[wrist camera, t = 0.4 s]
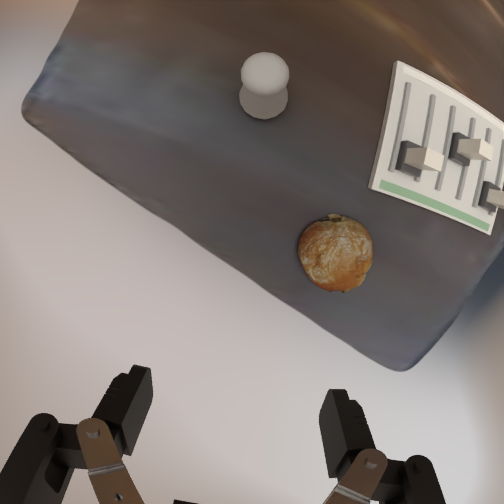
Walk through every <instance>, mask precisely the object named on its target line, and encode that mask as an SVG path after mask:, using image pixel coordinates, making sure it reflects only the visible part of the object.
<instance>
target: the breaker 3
mask: <svg viewBox="0 0 504 504" xmlns="http://www.w3.org/2000/svg"><path fill="white" fill-rule="evenodd" d="M478 206H480V207H482V208H484V209H485V210H487V211H490V212H494V213H495V212H496V208H497V207H500V208H503V209H504V192H503V191H501V188H499V187H498V186H496V185H494V184H493V183H491V182H488V181H483V185H482V189H481V194H480V198H479V202H478Z"/></svg>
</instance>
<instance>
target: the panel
mask: <svg viewBox="0 0 504 504" xmlns="http://www.w3.org/2000/svg"><path fill="white" fill-rule="evenodd" d="M454 132H460V133H462V134H464V135H465V136H467V137H469V138H470V139H483V140H484V141H486V142H487V143H489V144H490V145H492V146H493V147H494V148H493V155H492V161H485V160H472V159H471V160H470V165H469V166H461V165H459V164H457V163H455V162H453V161H451V160H449V159H448V155H449V150H450V145H451V139H452V133H454ZM406 140H408V141H411V142H413V143H415V144H417V145H420V146H422V147H428V148H430V149H432V150H434V151H436V152H438V153H440V154H442V155H444V160H443V165H442V170H441V172H438V171H429V170H422V171H421V175H420V177H414V176H411V175H408V174H406V173H403V172H400V171H398V170H395V166H396V162H397V158H398V153H399V149H400V144H401V141H406ZM483 181H488V182H491V183H493V184H494V185H496V186H498V187H499V188H501V191H502V187H503V182H504V123H503V122H502V121H501V120H499V119H498V118H496V117H495V116H494V115H492V114H491V113H489V112H488V111H487V110H485V109H484V108H482V107H481V106H479V105H478V104H476V103H475V102H473V101H472V100H470V99H469V98H467V97H465V96H464V95H462V94H461V93H459V92H457V91H456V90H454V89H452V88H451V87H449V86H447V85H445V84H444V83H442V82H440V81H438V80H436V79H435V78H433V77H431V76H429V75H427V74H425V73H423V72H421V71H419V70H417V69H415V68H413V67H411V66H409V65H407V64H405V63H403V62H400V61H398V60H397V61H396V62H394V63H393V69H392V76H391V82H390V88H389V93H388V99H387V104H386V110H385V115H384V120H383V124H382V129H381V134H380V138H379V143H378V147H377V152H376V156H375V160H374V164H373V168H372V172H371V176H370V180H369V184H368V188H370V189H373V190H376V191H379V192H382V193H385V194H387V195H390V196H393V197H396V198H399V199H402V200H405V201H407V202H410V203H413V204H415V205H418V206H421V207H423V208H426V209H429V210H431V211H434V212H436V213H439V214H441V215H444V216H446V217H449V218H451V219H454V220H456V221H459V222H461V223H463V224H466V225H468V226H470V227H473V228H475V229H477V230H479V231H482V232H484V233H486V234H488V235H491V231H492V228H493V224H494V221H495V217H496V213H497V209H498V207H497V208H496V212H495V213H494V212H490V211H487V210H485V209H484V208H482V207H480V206H478V202H479V198H480V194H481V189H482V185H483Z"/></svg>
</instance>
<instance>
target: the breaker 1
mask: <svg viewBox="0 0 504 504" xmlns="http://www.w3.org/2000/svg"><path fill="white" fill-rule="evenodd" d="M443 160H444V155H442V154H440V153H438V152H436V151H434V150H432V149H430V148H428V147H422V146H420V145H417V144H415V143H413V142H411V141H408V140H406V141H401V144H400V149H399V153H398V158H397V162H396V166H395V170H398V171H400V172H403V173H406V174H408V175H411V176H414V177H420V175H421V171H422V170H429V171H438V172H441V170H442V165H443Z"/></svg>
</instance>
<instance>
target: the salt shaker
mask: <svg viewBox="0 0 504 504" xmlns="http://www.w3.org/2000/svg"><path fill="white" fill-rule="evenodd" d="M241 80H242V82H243V86H242V88H241V90H240V92H239V97H240V104H241V105H242V107H243V109H244V111H245V112H246V113H248V114H250V115H251V116H253V117H254V118H260V119H269V118H272V117H276V116H277V115H278V114H280V113H281V112H282V111H284V109H285V107H286V104H287V102H288V90H287V88H286V85H287V82H288V80H289V69H288V66H287V65H286V63H285V62H284V60H283V59H282V58H280V57H279V56H277V55H276V54H274V53H267V52H261V53H257V54H253V55H252V56H251V57H249V58H248V59H247V60H246V61H245V63H244V65H243V67H242V69H241Z"/></svg>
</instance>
